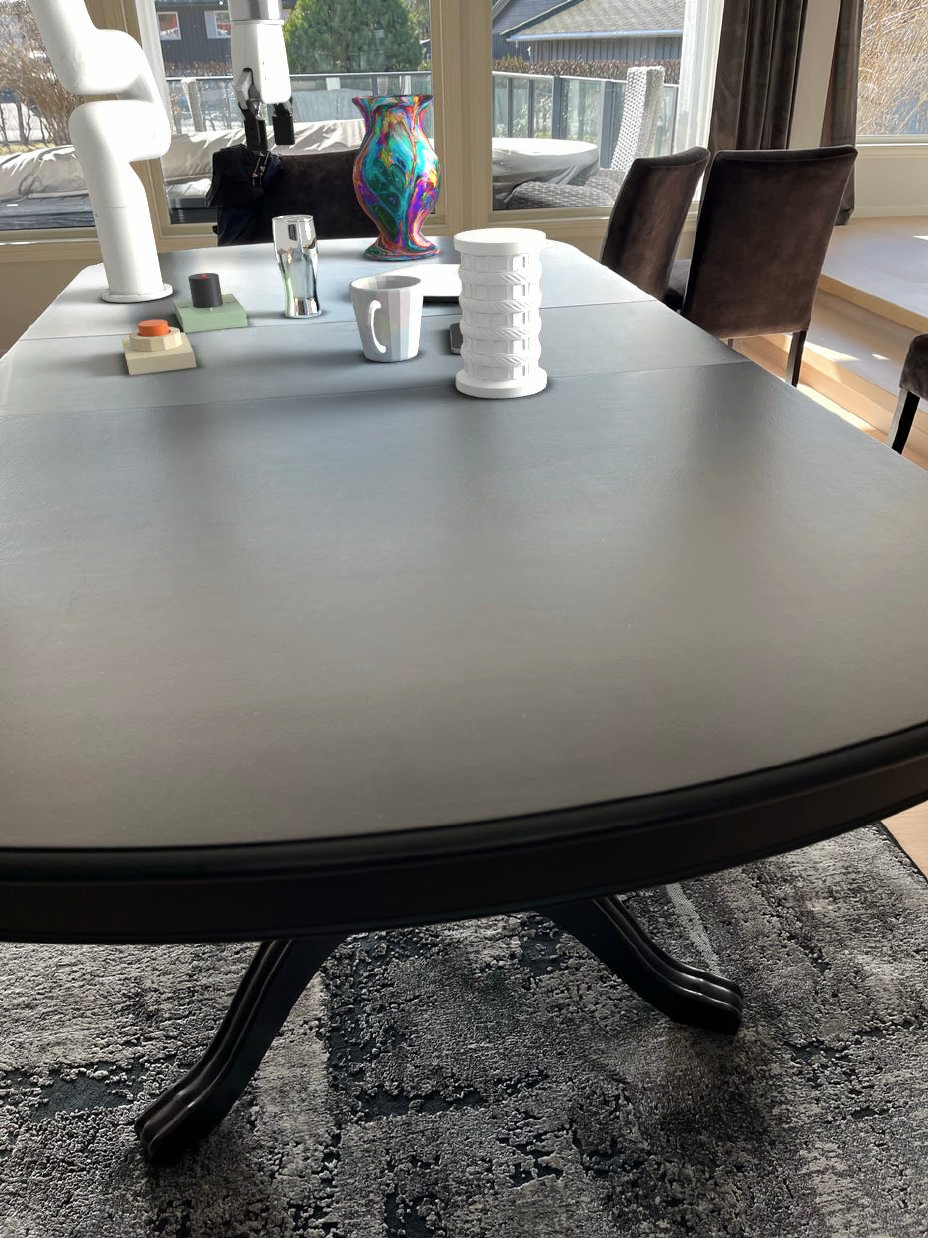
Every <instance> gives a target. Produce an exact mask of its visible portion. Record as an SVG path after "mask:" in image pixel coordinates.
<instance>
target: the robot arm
mask: <svg viewBox="0 0 928 1238" xmlns="http://www.w3.org/2000/svg"><path fill="white" fill-rule="evenodd" d="M26 2H27V4H28V7H29V9H30V11H31V14H32V16H33V19H34V22H35V24H36V28H37V29H38V32H39V35H40V37H41V40H42V43H43V45H44V48H45V50H46V53H47V56H48V58H49V61H50V63H51V66H52V69H53V71H54V73H55V75H56V77H57V80H58V81H59V83H60V85H61V87H62V88H63V89H64V90H66V92H68V93H70V94H73V95H76V96H77V95H78V96H101V95H115V96H116V98H117V99H110V100H96V101H94V100H93V101H89V102H85V103H83V104H82V103H81V104H80V105H78V106H77V107H75V109H73V111H72V112H71V114H70V116H69V119H68V125H67V126H68V134H69V138H70V141H71V144H72V147H73V150H74V152H75V154H76V157H77V159H78V162H79V164H80V167H81V170H82V174H83V177H84V182H85V184H86V188H87V193H88V197H89V201H90V207H91V210H92V215H93V220H94V224H95V229H96V234H97V239H98V243H99V248H100V253H101V258H102V263H103V267H104V271H105V276H106V281H107V285H108V288H105V289H103V290H102V291H101V293H100V295H101V298H102V300H103V301H106V302H109V303H140V302H148V301H154V300H159V299H162V298H165V297H169V296H170V295H172V294H173V291H174V290H173V286H172V285H171V284H169V283H164V282H163V278H162V273H161V269H160V263H159V257H158V251H157V246H156V240H155V235H154V229H153V224H152V219H151V213H150V208H149V203H148V199H147V194H146V190H145V187H144V185H143V183H142V181H141V179H140V177H139V176H138V175H137V173H136V171H134V169H133V167H132V166H131V165H130V163H132V162H139V161H140V162H142V161H148V160H153V159H158V158H161V157H163V156H164V155H165V154H167V152H168V151H169V150H170V146H171V142H172V133H171V126H170V122H169V118H168V116H167V112H166V110H165V107H164V103H163V101H162V98H161V96H160V92H159V89H158V86H157V84H156V80H155V78H154V75H153V72H152V69H151V66H150V64H149V61H148V59H147V57H146V54H145V52H144V51H143V49H142V47H141V46H140V44H139V42H137V40H136V39H135V38H134V37H133V36H131V35H130V34H129V33H127V32H125V31H122V30H119V29H99V28H97V27H96V26H95V25H94V23H93V21H92V19H91V17H90V14H89V13H88V9H87V6H86V4H85V1H84V0H26ZM227 9H228V16H229V24H230V53H231V54H230V57H231V58H230V59H231V66H232V67H231V69H232V80H233V88H234V89H233V90H234V96H235V101H236V102H237V106H238V108H239V110H240V112H241V113H240V117H241V120H242V121H243V129H244V136H245V137H244V138H245V144H246V149H247V151H248V152H267V151H269V141H268V133H267V124H266V119H263V117H264V116H263V114H264V110H265V106H266V105H269V107H270V108H271V111H272V112H273V116H271V121H272V129H273V130H272V131H273V139H274V144H275V146H295V145H296V136H295V127H294V118H293V115H294V109H293V107H292V106H293V103H294V101H293V100H294V98H293V97H292V96H293V83H292V81H291V78H290V70H289V63H288V57H287V50H286V43H285V38H284V34H283V29H282V25H285V22H284V21H285V20H284V13H283V12H284V11H283V2H282V0H227Z"/></svg>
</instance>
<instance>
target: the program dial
mask: <svg viewBox="0 0 928 1238" xmlns="http://www.w3.org/2000/svg"><path fill="white" fill-rule="evenodd" d="M187 279H188V284H189V290H190V295H191V298H192V302H193V306H194V307H199V308H207V307H215V306H219V305H221V304H223V301H222V295H223V294H222V288H221V283H220V282H221V281H220V276H219V273H215V272H202V273H194V274H191V275H189V276H188V278H187Z"/></svg>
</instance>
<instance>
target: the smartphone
mask: <svg viewBox="0 0 928 1238" xmlns="http://www.w3.org/2000/svg"><path fill="white" fill-rule="evenodd" d="M449 335H450V351H451V353H454V354H461V353H460V352H461V346H462V344H463V334H462V333H461V330H460V322H454V323H451V324H450V325H449Z"/></svg>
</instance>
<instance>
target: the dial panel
mask: <svg viewBox="0 0 928 1238" xmlns="http://www.w3.org/2000/svg"><path fill="white" fill-rule="evenodd" d="M222 301H223V304H221V305H219V306H215V307H207V308H199V307H194V306H193V302H192V297H185V298H175V299H172V302H173V307H174V313H175V316H176V318H177V321H178V322H179V325H180V327H181V329H182V331H183V332H184V333H185V334H186V333H187V334H188V333H194V332H195V333H196V332H203V331H204V332H205V331H212V330H213V331H214V330H222V329H232V328H240V327H241V328H242V327H248V319H247V313H246V309H245V308H244V306H242V304H241V303H240V301H239V300H238V299H237V298H236V296H235V295H234V294H233V293H223V294H222Z"/></svg>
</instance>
